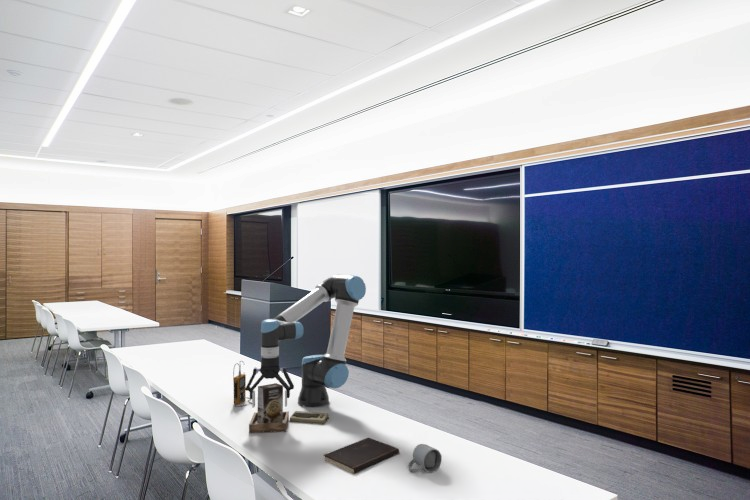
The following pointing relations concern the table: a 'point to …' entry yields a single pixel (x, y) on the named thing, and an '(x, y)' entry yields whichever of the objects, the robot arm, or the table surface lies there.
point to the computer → (309, 417)
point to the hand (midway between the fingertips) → (269, 406)
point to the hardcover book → (361, 455)
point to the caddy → (268, 425)
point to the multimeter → (239, 387)
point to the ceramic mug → (425, 459)
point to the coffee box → (270, 403)
